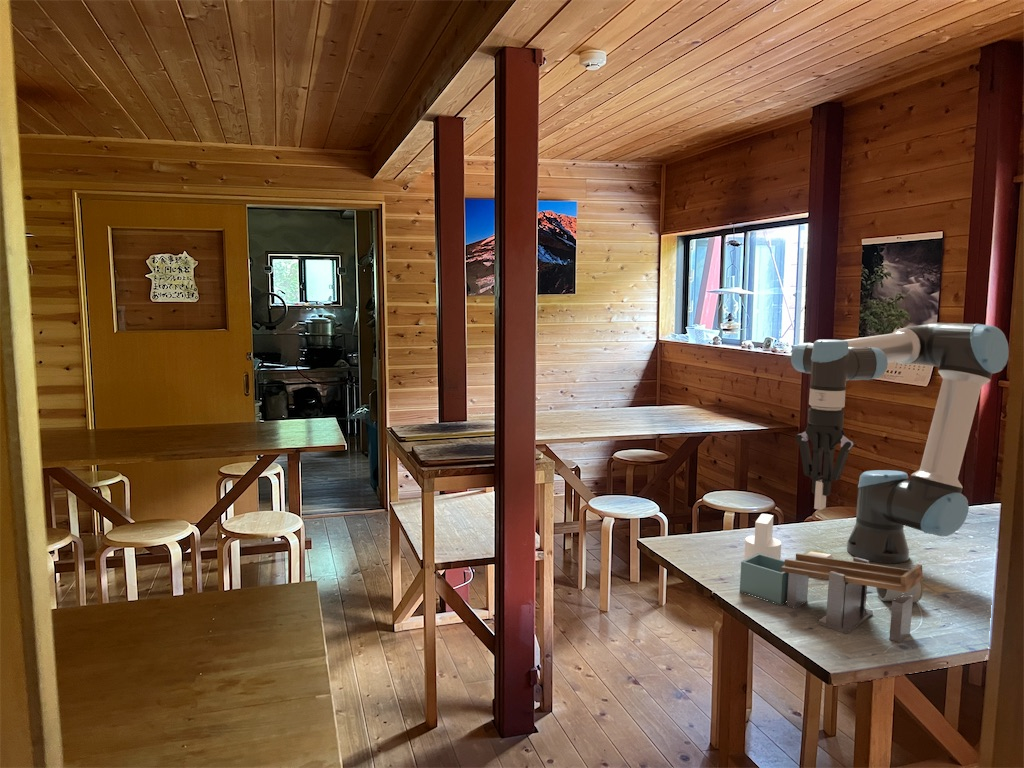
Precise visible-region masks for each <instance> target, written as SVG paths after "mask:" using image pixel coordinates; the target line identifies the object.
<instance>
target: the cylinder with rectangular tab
mask: <svg viewBox="0 0 1024 768" xmlns="http://www.w3.org/2000/svg"><path fill="white" fill-rule="evenodd" d="M754 525H755V526H754V535H748V536H746V537H745V539H744V540H745V542H744V555H743V556H744V558H743V559H744V560H746V559H748V558H750V557H752V556H754V555H756V554H758V553H759V554H762V555H766V556H769V557H773V558H776V559H780V560H781V558H782V557H781V556H782V541H781V540H780V539H778V538H776V537H773V531H774V514H773V515H772V514H768V513H761V514H760V515H759V517H758V518H757V519H756V520H755V523H754ZM744 560H743V561H744Z"/></svg>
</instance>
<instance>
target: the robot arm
mask: <svg viewBox="0 0 1024 768" xmlns="http://www.w3.org/2000/svg"><path fill="white" fill-rule="evenodd" d="M1009 349H1010V348H1009V343H1008V340H1007V338H1006V335H1005V333H1004V332H1003V331H1002V329H1000V328H998V327H997V326H994V325H989V324H981V323H955V322H953V323H951V322H932V323H931V322H930V323H926V324H920V325H919V324H918V325H914V326H907V327H902V328H897V329H896V330H894V331H892V332H891V333H886V334H879V335H871V336H864V337H857V338H850V339H849V338H848V339H817V340H815V341H814V342H813V343H812V342H801V343H798V344H797V345H796V346H794V348H793V350H792V352H791V355H790V361H791V366H792V367H793V368H794V370H795V371H797V372H801V373H805V374H807V375H809V374H810V381H809V383H810V384H809V395H808V397H809V398H808V405H810V406H809V408H808V412H807V413H808V414H807V426H806V428H805V431H802V432H801V433H798V434H795V436H794V438H795V440H796V442H797V443H798V445H799V451H800V457H801V463H802V469H803V475H804V476H805V477H809V478H810V479H811V494H813V495H814V507H813V509H814V510H819V511H822V510H823V509H826V507H827V505H826V504H827V496H830V495H831V490H832V482H836V481H839V480H840V479H841V477H842V473H843V471H844V468H845V465H846V461H847V459H848V455H849V454H850V451H851V449H852V448H853V447H854V446H855V441H854V440H850V439H849V438H847V437H846V435H845V431H844V421H845V411H844V408H845V407H846V405H845V403H846V387H847V381H863V380H864V381H870V380H875V379H879V378H881V377H882V376H884V374H886V371H887V369H888V364H891V363H892V364H893V363H897V364H899V365H909V364H910V365H911V364H915V365H916V364H917V365H923V366H930V367H936V368H937V367H938V369H937V373H938V374H939V375H940V377H941V379H942V381H941V386H940V388H939V389H940V390H939V393H938V397H937V401H936V404H935V409H934V411H933V412H934V413H933V416H932V421H931V424H930V427H929V432H928V437H927V440H926V444H925V447H924V452H923V455H922V459H921V463H920V467H919V469H918V470H916V471H914V472H913V473H911V475H910V479H909V475H908V473H907V472H905V471H901V470H891V469H890V470H889V469H883V470H881V469H878V470H874V469H873V470H866V471H864V472H862V473H861V474H860V475H859V478H858V479H859V481H858V485H857V501H856V516H855V517H856V518H855V524H854V526H853V528H852V531H851V532H850V535H849V536H848V539H847V543H846V550H847V552H848V553H849V554H851V555H852V556H853V557H858V558H861V559H865V560H869V562H874V563H882V564H901V563H905V562H907V561H908V560H909V558H910V557H909V556H910V555H909V554H910V549H909V546H908V542H907V538H906V535H905V531H904V527H908V528H911V529H914V530H916V531H921V532H923V533H924V534H928V535H935V536H937V537H949V536H950V535H954V534H955V533H956V532H957V531H958V530H960V528H961V527H962V526H963V525H964V523H965V521H966V520H967V518H968V515H969V508H970V507H969V501H968V499H967V497H966V496H965V494H964V495H963V493H962V491H963V485H962V484H961V482H960V480H959V475H960V471H961V467H962V464H963V460H964V456H965V452H966V448H967V444H968V441H969V437H970V434H971V433H970V432H971V429H972V425H973V423H974V422H973V421H974V417H975V414H976V410H977V405H978V402H979V399H980V395H981V394H980V393H981V390H982V387H983V386H984V385H986V384H988V383H990V382H991V380H992V376H993V374H996V373H1000V372H1001V371H1003V370H1004V368H1005V367H1006V365H1007V363H1008V361H1009V353H1010V352H1009ZM809 440H810V442H811V445H812V449H810V443H809ZM839 443H840V449H839V451H838V454H837V457H836V460H835V463H834V459H835V458H834V456H835V455H834V454H835V452H836V447H837V445H838V444H839ZM811 451H812V453H811ZM811 455H812V456H811ZM822 467H823V468H822ZM908 479H909V480H908Z"/></svg>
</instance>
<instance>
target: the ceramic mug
mask: <svg viewBox="0 0 1024 768" xmlns="http://www.w3.org/2000/svg"><path fill="white" fill-rule="evenodd" d="M875 589H876V593H877V597H878V598H879V600H880V601H884V602H892V601H893V600H894V599H895V598H897V597H898V596H899V595H901V594H902V593H905V594H909V595H912V596H913V603H918V602H919V601H921V599H922V597H923V594H924V592H923V591H924V583H923V579H922V580H921V581H920V582H918V583H917V584H916V585H915V586H913V587H912V588H911V589H909V590H908V591H907V592H902V591H896V590H890V589H884V588H878V587H875Z"/></svg>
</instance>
